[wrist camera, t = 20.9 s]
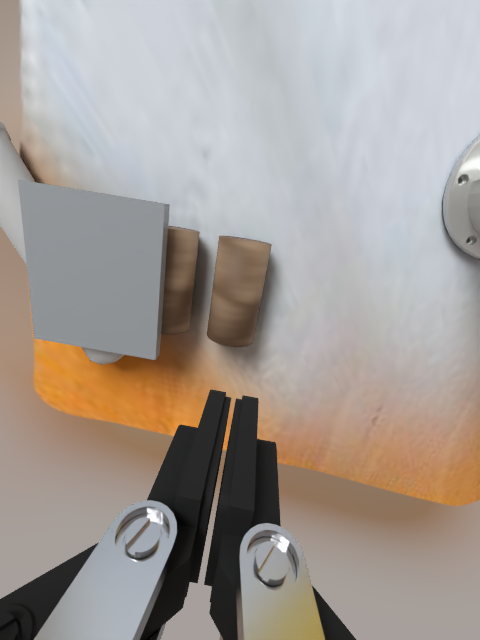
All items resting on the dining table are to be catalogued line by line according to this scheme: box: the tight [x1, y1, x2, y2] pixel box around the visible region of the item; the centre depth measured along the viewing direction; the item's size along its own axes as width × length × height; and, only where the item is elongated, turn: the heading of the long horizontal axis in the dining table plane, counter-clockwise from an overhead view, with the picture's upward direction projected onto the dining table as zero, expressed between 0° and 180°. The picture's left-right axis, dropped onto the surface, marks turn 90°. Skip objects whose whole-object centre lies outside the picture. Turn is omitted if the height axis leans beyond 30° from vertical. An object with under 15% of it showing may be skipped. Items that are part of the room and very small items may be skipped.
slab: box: [18, 180, 169, 360], centre depth 25 cm, size 12×14×1 cm
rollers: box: [161, 226, 271, 347], centre depth 28 cm, size 12×10×5 cm
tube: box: [0, 122, 124, 365], centre depth 29 cm, size 5×5×25 cm
